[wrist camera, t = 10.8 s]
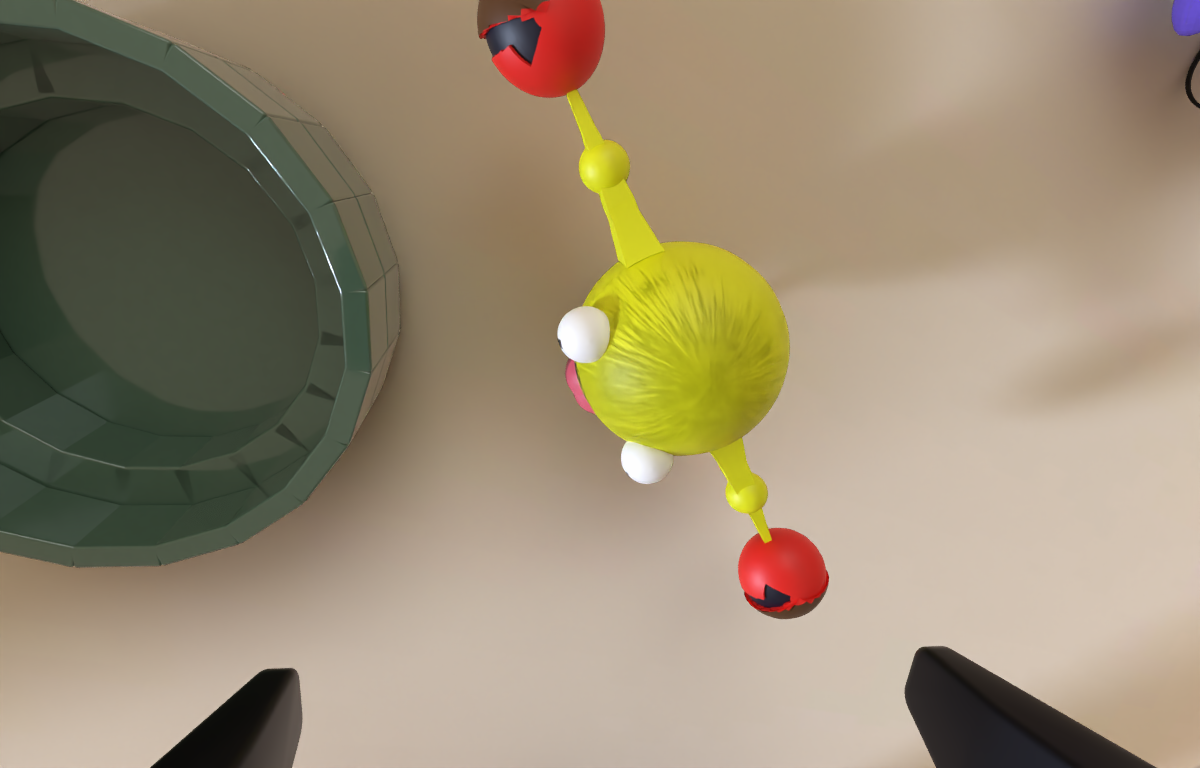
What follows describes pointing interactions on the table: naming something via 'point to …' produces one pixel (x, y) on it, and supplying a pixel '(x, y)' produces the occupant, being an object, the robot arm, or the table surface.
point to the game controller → (1187, 32)
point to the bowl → (171, 294)
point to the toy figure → (663, 316)
